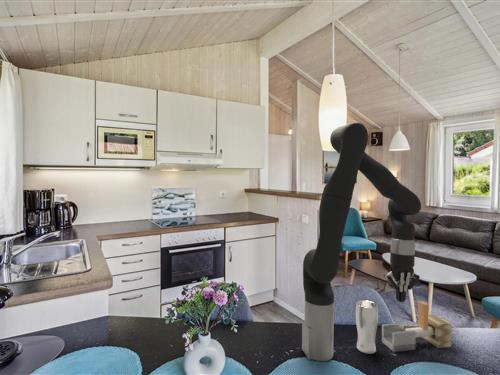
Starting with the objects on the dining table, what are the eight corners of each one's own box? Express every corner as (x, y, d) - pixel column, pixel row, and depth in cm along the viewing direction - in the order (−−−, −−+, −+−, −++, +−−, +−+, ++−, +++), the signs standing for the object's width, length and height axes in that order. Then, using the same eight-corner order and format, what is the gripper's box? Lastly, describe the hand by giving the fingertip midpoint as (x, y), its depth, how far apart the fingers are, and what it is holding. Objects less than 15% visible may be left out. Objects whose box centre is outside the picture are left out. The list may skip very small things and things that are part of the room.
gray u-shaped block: (393, 351, 95) (394, 333, 95) (381, 341, 102) (382, 324, 102) (415, 349, 97) (415, 331, 97) (402, 339, 103) (402, 322, 103)
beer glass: (353, 351, 96) (354, 305, 96) (356, 341, 102) (357, 298, 102) (376, 357, 92) (377, 310, 92) (378, 346, 99) (378, 302, 99)
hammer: (410, 339, 98) (411, 305, 98) (404, 335, 101) (405, 302, 101) (441, 336, 101) (441, 303, 101) (434, 332, 104) (434, 300, 104)
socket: (438, 348, 98) (438, 324, 98) (422, 337, 105) (422, 315, 105) (450, 346, 99) (451, 323, 99) (434, 336, 106) (434, 314, 106)
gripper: (392, 254, 96) (390, 306, 96) (427, 254, 99) (425, 305, 99) (378, 249, 104) (376, 297, 104) (411, 249, 106) (409, 296, 106)
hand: (400, 301), depth 101 cm, fingers closed
